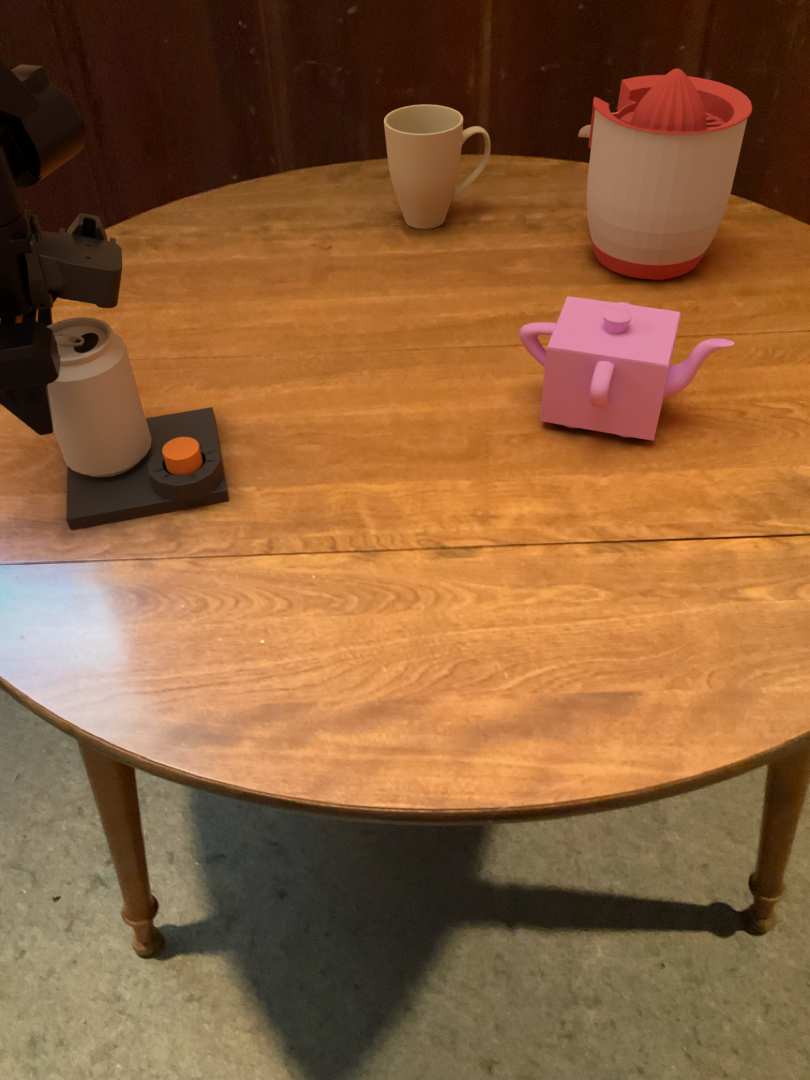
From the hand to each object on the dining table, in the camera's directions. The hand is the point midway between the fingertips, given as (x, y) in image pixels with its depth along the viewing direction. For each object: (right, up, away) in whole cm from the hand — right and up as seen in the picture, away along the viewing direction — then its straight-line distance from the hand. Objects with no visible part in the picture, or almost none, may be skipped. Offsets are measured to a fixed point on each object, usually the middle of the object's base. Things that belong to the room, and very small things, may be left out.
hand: (48, 399), depth 75 cm
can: (+3, -4, +5) cm, 8 cm away
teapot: (+48, 0, +9) cm, 49 cm away
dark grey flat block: (+7, -5, +6) cm, 10 cm away
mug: (+32, +28, +38) cm, 57 cm away
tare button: (+11, -5, +2) cm, 12 cm away
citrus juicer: (+56, +21, +30) cm, 67 cm away
